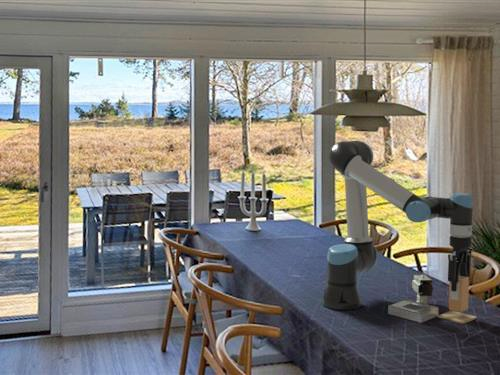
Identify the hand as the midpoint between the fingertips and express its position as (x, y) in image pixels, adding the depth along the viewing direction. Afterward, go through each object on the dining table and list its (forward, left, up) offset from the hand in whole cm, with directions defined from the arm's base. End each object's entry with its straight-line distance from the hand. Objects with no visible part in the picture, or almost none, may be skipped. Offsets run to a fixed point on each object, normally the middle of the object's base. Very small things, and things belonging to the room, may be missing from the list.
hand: (458, 297), depth 212 cm
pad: (0, 0, -8) cm, 8 cm away
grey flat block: (-13, -9, -8) cm, 18 cm away
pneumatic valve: (-18, +5, -8) cm, 20 cm away
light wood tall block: (0, 0, -4) cm, 4 cm away
